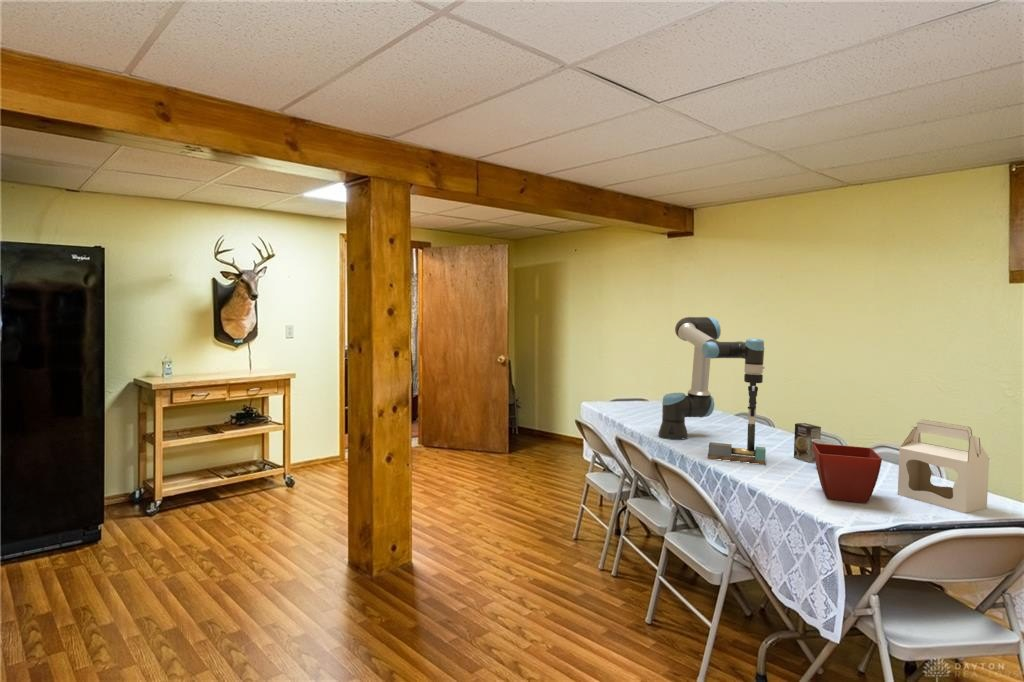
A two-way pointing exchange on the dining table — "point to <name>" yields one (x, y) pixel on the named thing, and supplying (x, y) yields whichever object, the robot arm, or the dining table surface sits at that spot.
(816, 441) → the plastic cup
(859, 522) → the dining table surface
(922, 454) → the gable box
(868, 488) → the plant pot
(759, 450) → the teal socket block
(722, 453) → the grey rectangular block
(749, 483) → the dining table surface
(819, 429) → the coffee box
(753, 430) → the slip tube
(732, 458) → the walnut board
